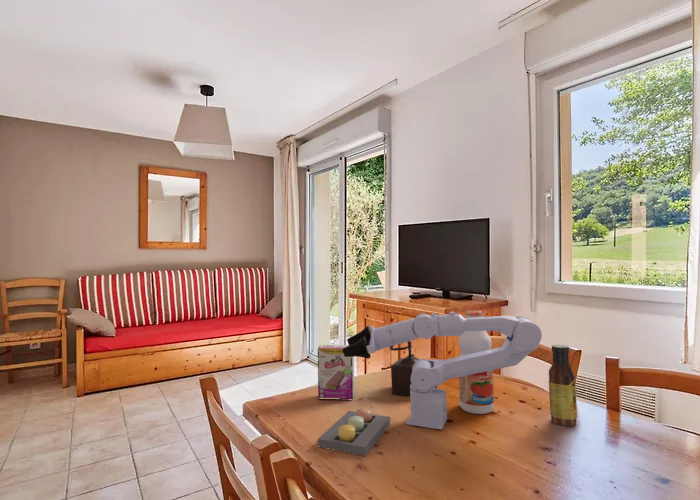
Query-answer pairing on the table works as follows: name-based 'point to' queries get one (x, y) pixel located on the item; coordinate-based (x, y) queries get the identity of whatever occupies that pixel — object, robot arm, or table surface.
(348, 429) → the mustard button
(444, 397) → the robot arm
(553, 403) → the sauce bottle
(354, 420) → the sage button
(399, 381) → the dark brown coffee grinder
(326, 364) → the candy bar box
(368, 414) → the terracotta button
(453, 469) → the table surface
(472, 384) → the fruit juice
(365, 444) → the panel
